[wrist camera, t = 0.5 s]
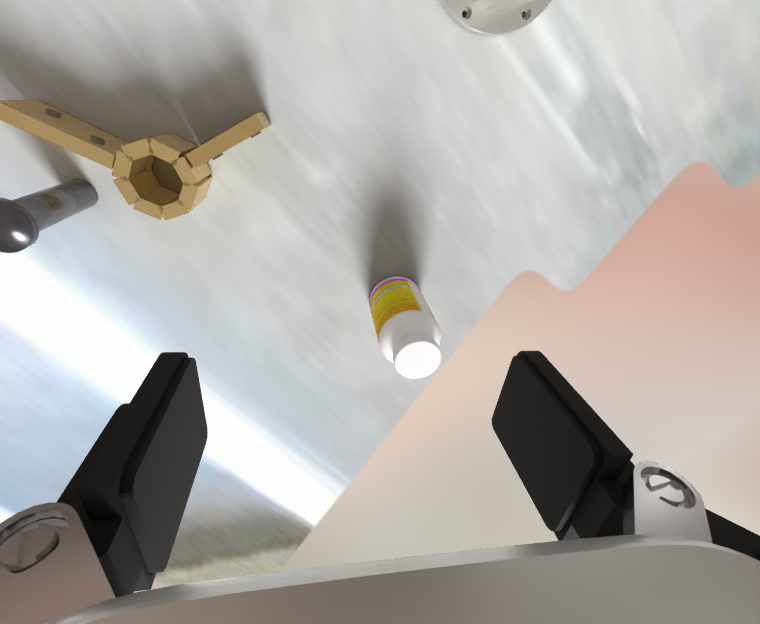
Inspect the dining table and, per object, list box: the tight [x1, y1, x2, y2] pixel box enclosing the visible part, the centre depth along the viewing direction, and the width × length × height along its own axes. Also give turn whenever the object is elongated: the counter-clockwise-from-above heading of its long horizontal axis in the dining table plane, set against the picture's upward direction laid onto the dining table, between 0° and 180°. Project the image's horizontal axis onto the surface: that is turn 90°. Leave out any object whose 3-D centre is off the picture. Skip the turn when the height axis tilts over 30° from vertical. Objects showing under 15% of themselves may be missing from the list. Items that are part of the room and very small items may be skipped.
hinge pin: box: [0, 179, 98, 253], centre depth 31 cm, size 4×4×11 cm
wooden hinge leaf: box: [185, 112, 271, 168], centre depth 33 cm, size 7×2×5 cm, turn 115°
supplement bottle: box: [369, 276, 441, 379], centre depth 41 cm, size 7×7×13 cm
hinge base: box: [0, 100, 212, 220], centre depth 32 cm, size 6×14×5 cm, turn 60°
